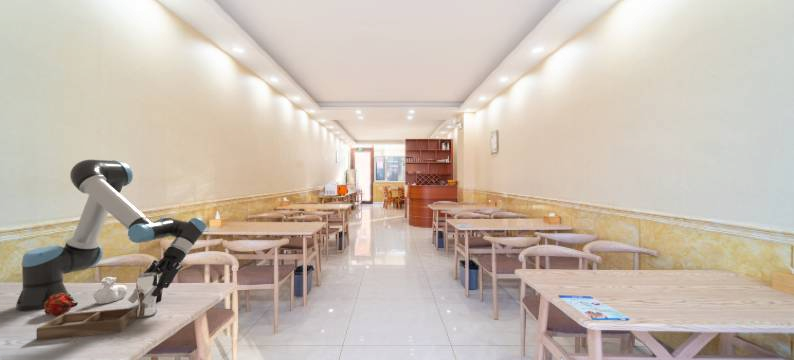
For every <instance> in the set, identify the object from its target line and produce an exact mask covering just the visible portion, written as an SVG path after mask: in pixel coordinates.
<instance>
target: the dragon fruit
mask: <svg viewBox="0 0 794 360" xmlns="http://www.w3.org/2000/svg"><path fill="white" fill-rule="evenodd" d="M71 295H72V294H70V293H68V294H64V293H57V294H53V295H52V296H51V297H50V298H49V299H48V300H46V302H45V303H44V308H43V309H44V313H45V314H46V316H48V315H52V316H54V317H59V316H60V315H62V314H64V313H69V311H71V309H73V308H75V307H77V306H78V302H77V301H76V300H75V299H74V298H73V297H72V296H71Z"/></svg>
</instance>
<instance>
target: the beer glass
mask: <svg viewBox="0 0 794 360" xmlns="http://www.w3.org/2000/svg"><path fill="white" fill-rule="evenodd" d="M158 276H159V274H158V273H145V274H143V273H141V274H138V275H136V283H135V289H136V294H137V298H138V299H137V302H138V309H137V317H139V318H140V317H141V318H143V317H144V318H145V317H149V316H150V317H151V316H152V315H155V314H156V313H157V312H158V308H157V303H156V298H157V296H156V297H155V298H154V299H153V300H152V302H151V303H150V304H149V306H148V305H146V304H144V303H142V301H143V300H144V299H145V297H146V296H147V295H148V293H149V292H150V291H151V289H152V288H153V287H154V286H156V285H155V284H157V283H158ZM156 287H157V286H156Z"/></svg>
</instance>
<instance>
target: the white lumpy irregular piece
mask: <svg viewBox="0 0 794 360" xmlns="http://www.w3.org/2000/svg"><path fill="white" fill-rule="evenodd" d="M116 280H117V276H115V277H114V276H113V277H112V276H105V277H103V278H102V279H101V280H99V281H100V283H101V286H103V288H100V289H98V290H97V291H95V292H94V294H93V295H92V297H93V299H94V300H95V301H96V302H95V303H97V304H98V305H103V304H110V303H112V302H115V301H120V300H121V299H123V298H124V297H126V296H127V293H128V287H127V286H126V285H124V284H123V285H122V284H116V285H115V283H116Z"/></svg>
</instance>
